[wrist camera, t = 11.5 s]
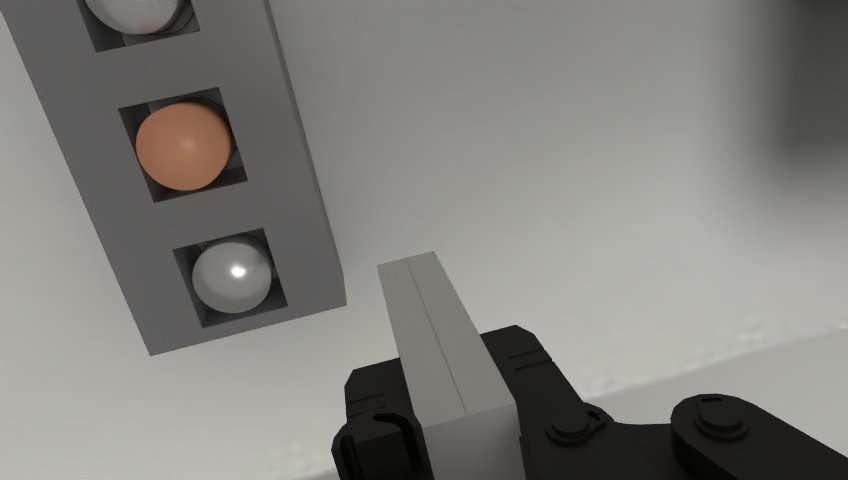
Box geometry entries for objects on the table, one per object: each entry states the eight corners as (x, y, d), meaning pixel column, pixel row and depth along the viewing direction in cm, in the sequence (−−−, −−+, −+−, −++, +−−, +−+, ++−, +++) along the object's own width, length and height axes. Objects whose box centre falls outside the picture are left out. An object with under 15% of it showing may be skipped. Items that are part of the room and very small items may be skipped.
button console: (242, -95, 32) (229, -118, 27) (343, 274, 40) (346, 305, 35) (19, -54, 31) (-34, -70, 26) (169, 318, 39) (150, 356, 34)
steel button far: (264, 213, 37) (258, 235, 33) (283, 274, 39) (280, 302, 35) (196, 229, 37) (181, 254, 33) (218, 290, 38) (206, 321, 34)
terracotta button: (223, 90, 34) (210, 97, 29) (246, 163, 35) (236, 179, 31) (147, 107, 33) (122, 116, 29) (173, 179, 35) (154, 199, 30)
